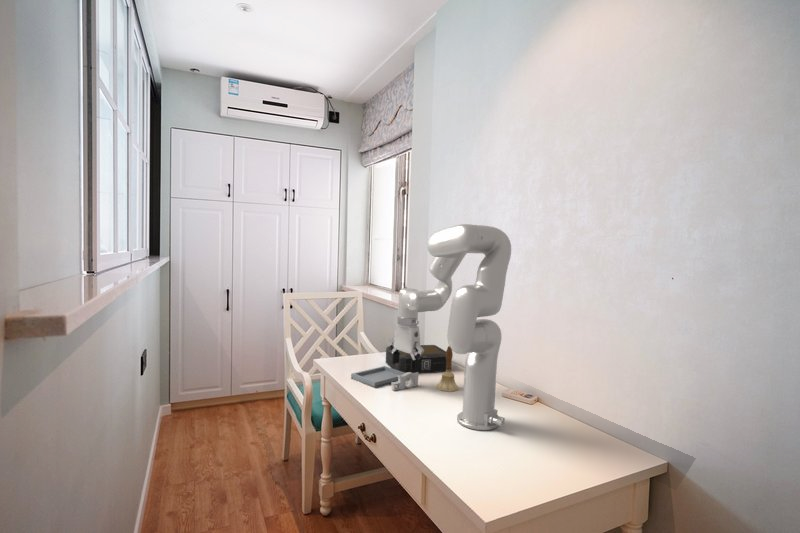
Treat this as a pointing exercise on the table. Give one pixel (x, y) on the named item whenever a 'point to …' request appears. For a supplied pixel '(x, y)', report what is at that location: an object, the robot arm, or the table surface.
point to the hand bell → (448, 375)
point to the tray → (377, 376)
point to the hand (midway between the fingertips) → (404, 366)
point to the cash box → (420, 360)
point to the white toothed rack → (403, 379)
